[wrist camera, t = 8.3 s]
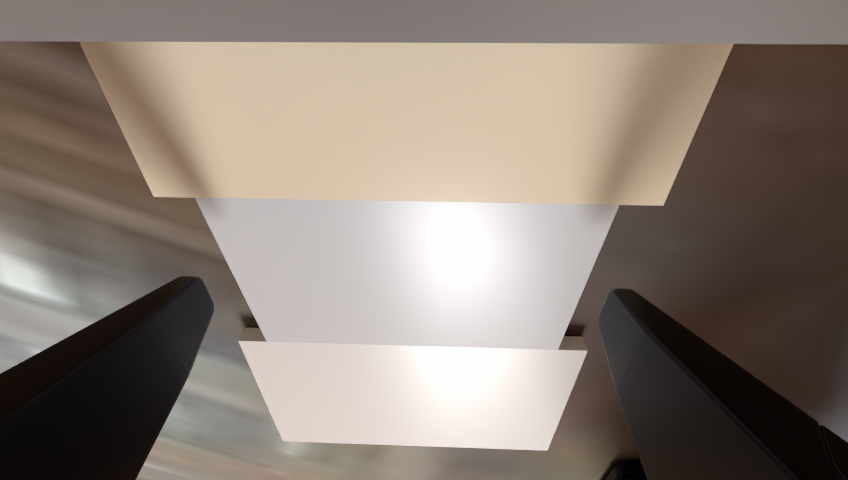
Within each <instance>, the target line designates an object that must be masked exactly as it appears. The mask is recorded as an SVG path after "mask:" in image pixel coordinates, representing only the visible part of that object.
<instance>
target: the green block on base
mask: <svg viewBox="0 0 848 480" xmlns="http://www.w3.org/2000/svg"><path fill="white" fill-rule="evenodd" d="M0 41H87V42H350V43H613V44H848V0H0Z"/></svg>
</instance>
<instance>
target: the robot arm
mask: <svg viewBox="0 0 848 480" xmlns="http://www.w3.org/2000/svg"><path fill="white" fill-rule="evenodd" d="M213 312H214V303H213V300H212V298H211V296H210V294H209V291H208V289H207V287H206V285H205V282H204V281H203V280H202V279H201V278H200V277H192V276H182V277H178V278H176V279H175V280H173V281H171V282H169V283H167V284H165V285H163V286H162V287H160V288H158V289H156V290H154V291H152V292H151V293H149V294H147V295H145V296H143V297H141V298H139V299H138V300H136V301H134V302H132V303H130V304H128V305H126V306H125V307H123V308H121V309H119V310H117V311H115V312H114V313H112V314H110V315H108V316H106V317H104V318H102V319H101V320H99V321H97V322H95V323H93V324H91V325H90V326H88V327H86V328H84V329H82V330H80V331H78V332H77V333H75V334H73V335H71V336H69V337H67V338H66V339H64V340H62V341H60V342H58V343H56V344H54V345H53V346H51V347H49V348H47V349H45V350H43V351H42V352H40V353H38V354H36V355H34V356H32V357H30V358H29V359H27V360H25V361H23V362H21V363H19V364H18V365H16V366H14V367H12V368H10V369H8V370H6V371H5V372H3V373H1V374H0V480H136V478H137V476H138V474H139V472H140V470H141V468H142V466H143V464H144V462H145V460H146V458H147V456H148V455H149V453H150V451H151V449H152V447H153V445H154V443H155V441H156V439H157V437H158V435H159V433H160V431H161V429H162V427H163V425H164V423H165V421H166V419H167V418H168V416H169V414H170V412H171V410H172V408H173V406H174V404H175V402H176V400H177V398H178V396H179V394H180V392H181V390H182V388H183V386H184V384H185V382H186V380H187V378H188V376H189V374H190V371H191V369H192V367H193V364H194V362H195V359H196V357H197V354H198V352H199V349H200V346H201V344H202V341H203V339H204V336H205V333H206V331H207V328H208V326H209V323H210V321H211V318H212V315H213ZM599 327H600V331H601V335H602V340H603V344H604V348H605V352H606V356H607V360H608V364H609V368H610V372H611V376H612V380H613V384H614V387H615V391H616V394H617V397H618V400H619V403H620V405H621V408H622V411H623V413H624V416H625V419H626V422H627V424H628V427H629V430H630V432H631V435H632V438H633V441H634V443H635V446H636V449H637V451H638V454H639V457H640V460H641V462H642V463H620V464H617V465H615V466H614V467H613V469H612V470H611V472H610V473H609V475H608V477H607V478H606V480H848V443H847V442H846V441H845V440H843V439H842V438H840V437H839V436H838V435H836V434H835V433H833V432H832V431H831V430H829V429H828V428H826V427H825V426H822V425H820V426H819V423H818V422H817V421H816V420H815V419H813V418H812V417H811V416H809V415H808V414H806V413H805V412H804V411H802V410H801V409H799V408H798V407H797V406H795V405H794V404H792V403H791V402H790V401H788V400H787V399H785V398H784V397H782V396H781V395H780V394H778V393H777V392H775V391H774V390H773V389H771V388H770V387H768V386H767V385H766V384H764V383H763V382H761V381H760V380H759V379H757V378H756V377H754V376H753V375H751V374H750V373H749V372H747V371H746V370H744V369H743V368H742V367H740V366H739V365H737V364H736V363H735V362H733V361H732V360H730V359H729V358H728V357H726V356H725V355H723V354H722V353H721V352H719V351H718V350H716V349H715V348H713V347H712V346H711V345H709V344H708V343H706V342H705V341H704V340H702V339H701V338H699V337H698V336H697V335H695V334H694V333H692V332H691V331H690V330H688V329H687V328H685V327H684V326H683V325H681V324H680V323H678V322H677V321H675V320H674V319H673V318H671V317H670V316H668V315H667V314H666V313H664V312H663V311H661V310H660V309H659V308H657V307H656V306H654V305H653V304H652V303H650V302H649V301H647V300H646V299H645V298H643V297H642V296H640V295H639V294H637V293H636V292H635V291H633V290H631V289H611V290H610V291H609V292H608V294H607V296H606V299H605V301H604V304H603V307H602V309H601V312H600V314H599Z"/></svg>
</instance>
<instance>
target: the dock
mask: <svg viewBox="0 0 848 480" xmlns="http://www.w3.org/2000/svg"><path fill="white" fill-rule="evenodd" d="M79 43H80V45H81V47H82V49H83V51H84V53H85V55H86V57H87V59H88V62H89V64H90V66H91V68H92V70H93V72H94V74H95V76H96V78H97V80H98V82H99V84H100V86H101V88H102V91H103V93H104V95H105V97H106V99H107V101H108V103H109V105H110V107H111V109H112V111H113V113H114V115H115V117H116V120H117V122H118V124H119V126H120V128H121V130H122V132H123V134H124V136H125V138H126V140H127V142H128V144H129V147H130V149H131V151H132V153H133V155H134V157H135V159H136V161H137V163H138V165H139V167H140V169H141V171H142V173H143V176H144V178H145V180H146V182H147V184H148V186H149V188H150V190H151V192H152V194H153V196H154V197H188V198H195V199H196V201H197V203H198V205H199V207H200V209H201V211H202V213H203V215H204V217H205V219H206V221H207V223H208V225H209V227H210V229H211V231H212V233H213V235H214V237H215V239H216V241H217V243H218V245H219V247H220V249H221V251H222V253H223V255H224V257H225V259H226V261H227V263H228V265H229V267H230V269H231V271H232V273H233V275H234V277H235V279H236V281H237V283H238V285H239V287H240V289H241V291H242V293H243V295H244V297H245V299H246V301H247V303H248V305H249V307H250V309H251V311H252V313H253V315H254V317H255V319H256V321H257V323H258V325H259V327H260V328H245V330H244V331H243V333H242V335H241V337H240V339H239V340H238V342H239V344H240V346H241V348H242V350H243V353H244V355H245V357H246V359H247V362H248V364H249V366H250V368H251V371H252V373H253V375H254V377H255V380H256V382H257V384H258V386H259V389H260V391H261V393H262V395H263V398H264V400H265V402H266V404H267V406H268V409H269V411H270V413H271V415H272V418H273V420H274V422H275V424H276V427H277V429H278V431H279V433H280V436H281V438H282V440H283V441H294V442H322V443H350V444H378V445H406V446H434V447H462V448H490V449H518V450H546V451H547V450H548V448H549V445H550V443H551V441H552V438H553V436H554V433H555V431H556V428H557V426H558V423H559V421H560V418H561V416H562V413H563V411H564V408H565V406H566V403H567V401H568V398H569V396H570V393H571V391H572V388H573V386H574V383H575V381H576V379H577V376H578V374H579V371H580V369H581V366H582V364H583V361H584V359H585V356H586V354H587V351H588V350H587V348H586V345H585V343H584V340H583V338H582V337H577V336H564V334H565V332H566V330H567V327H568V325H569V322H570V320H571V318H572V315H573V313H574V311H575V308H576V306H577V304H578V301H579V299H580V297H581V294H582V292H583V289H584V287H585V285H586V282H587V280H588V278H589V275H590V273H591V271H592V268H593V266H594V264H595V261H596V259H597V256H598V254H599V252H600V249H601V247H602V245H603V242H604V240H605V238H606V235H607V233H608V231H609V228H610V226H611V223H612V221H613V219H614V216H615V214H616V212H617V209H618V207H619V205H654V206H663V205H664V203H665V201H666V198H667V196H668V194H669V192H670V189H671V187H672V185H673V182H674V180H675V178H676V175H677V173H678V171H679V169H680V166H681V164H682V162H683V159H684V157H685V155H686V152H687V150H688V148H689V146H690V143H691V141H692V139H693V136H694V134H695V132H696V129H697V127H698V125H699V123H700V120H701V118H702V116H703V113H704V111H705V109H706V106H707V104H708V102H709V99H710V97H711V95H712V93H713V90H714V88H715V86H716V83H717V81H718V79H719V76H720V74H721V72H722V70H723V67H724V65H725V63H726V60H727V58H728V56H729V53H730V51H731V49H732V47H733V44H613V43H350V42H87V41H79Z"/></svg>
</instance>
